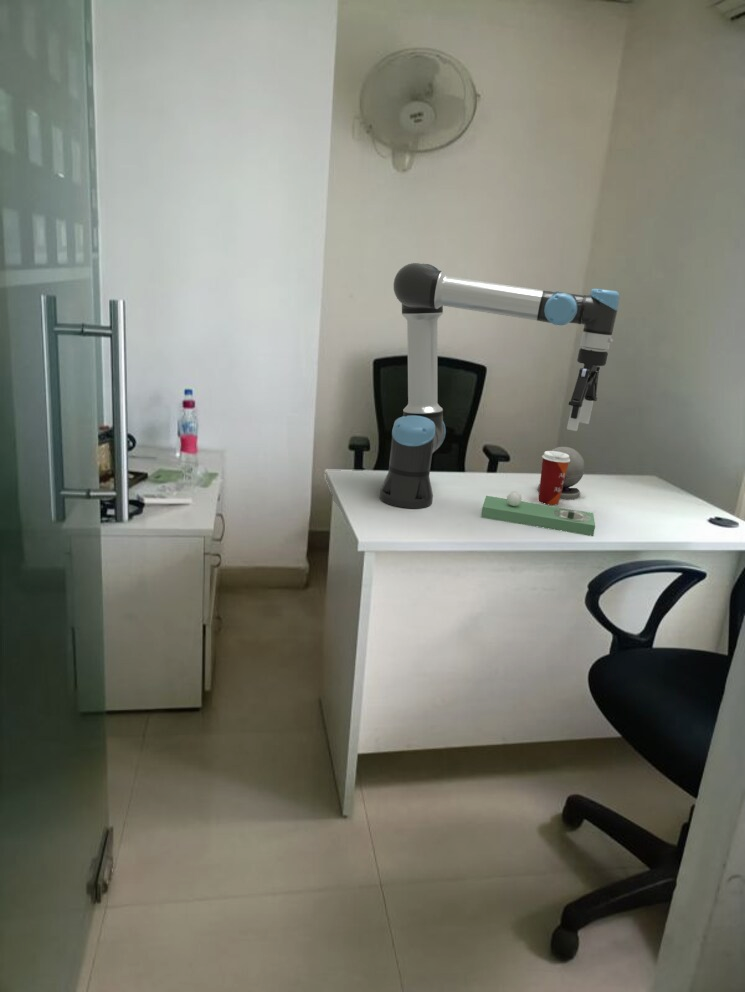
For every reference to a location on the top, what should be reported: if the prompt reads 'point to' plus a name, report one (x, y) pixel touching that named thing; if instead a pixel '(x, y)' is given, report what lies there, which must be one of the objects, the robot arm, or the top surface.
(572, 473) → the webcam
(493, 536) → the top surface
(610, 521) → the top surface
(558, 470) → the coffee cup
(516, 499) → the ball
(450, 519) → the top surface
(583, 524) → the putting strip
